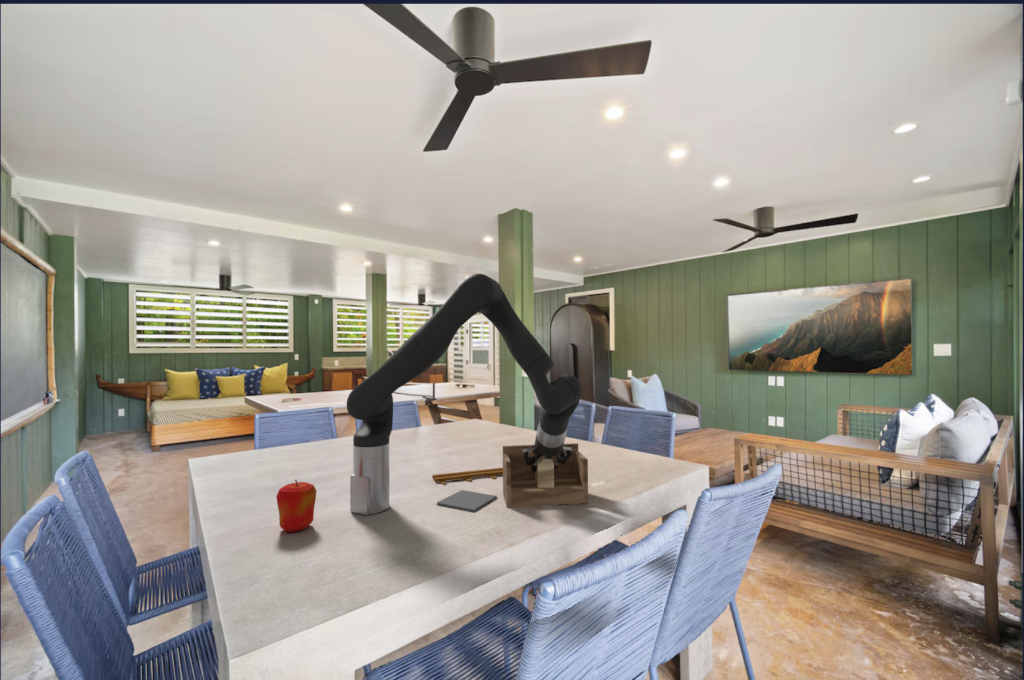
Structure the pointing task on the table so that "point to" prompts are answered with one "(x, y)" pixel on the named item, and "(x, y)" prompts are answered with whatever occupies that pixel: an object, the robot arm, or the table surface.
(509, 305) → the robot arm
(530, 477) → the walnut cubby
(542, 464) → the maple block
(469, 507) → the charcoal mat
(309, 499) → the apple
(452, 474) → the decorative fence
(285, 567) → the table surface
